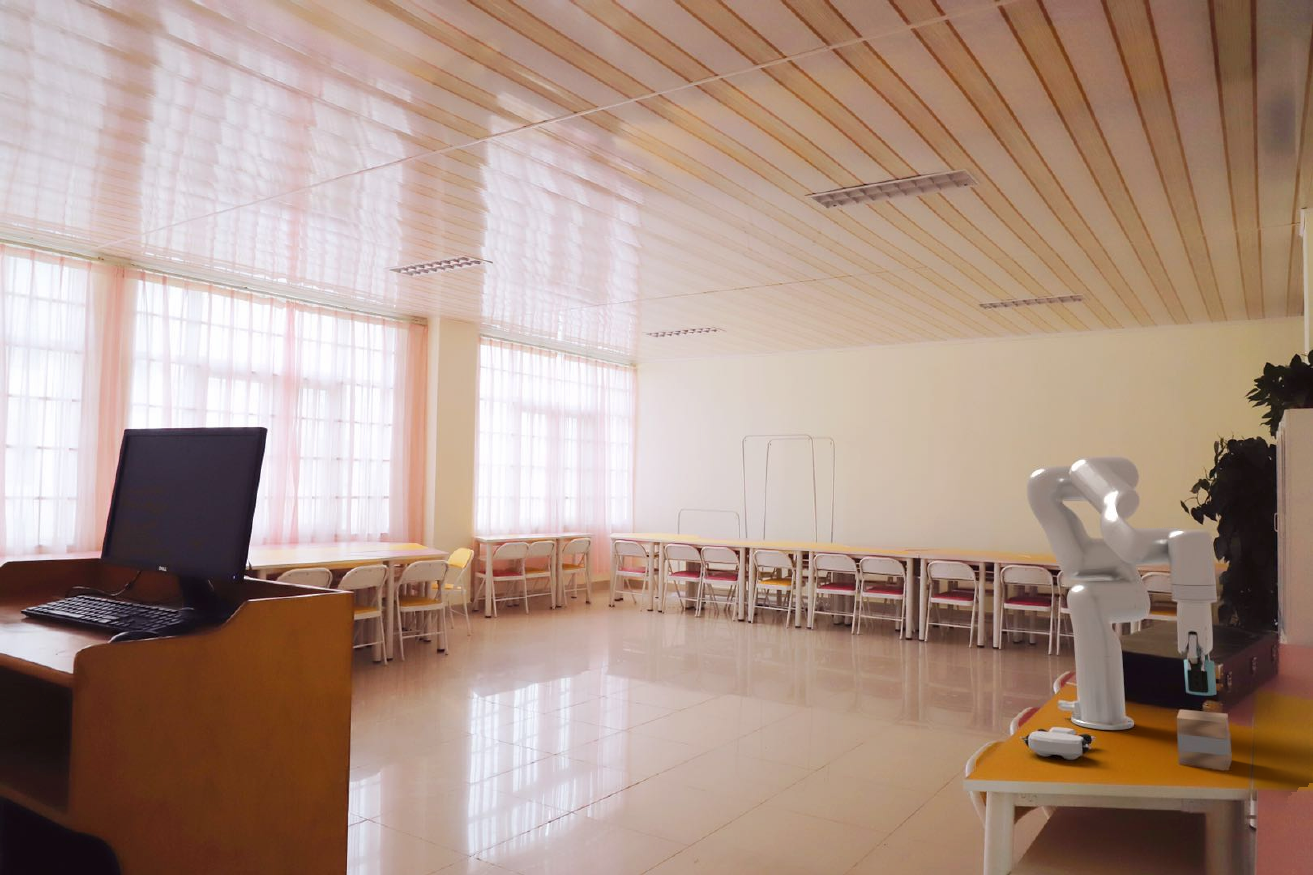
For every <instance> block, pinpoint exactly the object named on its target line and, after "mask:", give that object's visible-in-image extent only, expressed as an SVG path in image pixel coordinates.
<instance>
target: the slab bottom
mask: <svg viewBox="0 0 1313 875" xmlns="http://www.w3.org/2000/svg"><path fill="white" fill-rule="evenodd" d="M1177 755H1178V756H1177V757H1178V758H1177V760H1178V761H1177V762H1178V765H1182V766H1188V767H1195V766H1197V768H1202V767H1203V769H1210V768H1211V770H1217V769H1218V771H1224V770H1230V768H1231V764H1232V761H1233V757H1232V746H1231V747H1230V750H1229V754H1228V756H1223V755H1215V754H1207V753H1199V752H1191V751H1183V750H1178V749H1177ZM1229 767H1230V768H1229Z"/></svg>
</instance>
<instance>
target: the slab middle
mask: <svg viewBox="0 0 1313 875" xmlns="http://www.w3.org/2000/svg"><path fill="white" fill-rule="evenodd" d="M1176 734H1177V735H1176V736H1177V738H1176V739H1177V751H1178V750H1183V751H1191V752H1199V753H1207V754H1215V755H1223V756H1228V754H1229V750H1230V747H1231V748H1232V745H1231V730H1230V729H1229V731H1228V739H1221V738H1211V737H1202V736H1192V735H1183V734H1178V732H1177V733H1176Z"/></svg>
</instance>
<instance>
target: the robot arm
mask: <svg viewBox="0 0 1313 875" xmlns="http://www.w3.org/2000/svg"><path fill="white" fill-rule="evenodd" d="M1139 478H1140V476H1139V471H1138V469H1137V467H1136V465H1135V464H1134V463H1133V462H1132V461H1131V460H1129V459H1127V458H1126V457H1122V456H1089V457H1084V458H1080V459H1079V460H1077V461H1075V462H1074V463H1073V464H1071V465H1056V466H1055V465H1052V466H1046V467H1045V466H1044V467H1041V468H1039V469H1036V470H1035V471H1033V472H1032V473H1031V475H1030V476H1029V477H1028V479H1027V483H1026V496H1027V501H1028V504H1029V507H1030V509H1031V511H1032V513H1033V515H1034V517H1035V518H1036V520H1037V521H1038V522H1039V524H1040V525H1041V528H1042V529H1043V531H1044V533H1045V535H1046V538H1047V540H1048V543H1049V545H1050V548H1051V551H1052V553H1053V555H1054V557H1055V561H1056V562H1057V565H1058V567H1059V569H1060V571H1061V572H1062V574H1063V576H1064V577H1066V578H1068V579H1069V580H1072V581H1073V580H1074V581H1075V580H1077V581H1081V582H1079V583H1076V584H1075V585H1073V586H1072V587H1071V588H1069V590H1068V593H1067V596H1066V604H1067V609H1068V613H1069V617H1070V620H1071V626H1072V632H1073V641H1074V642H1073V643H1074V645H1073V646H1074V662H1075V678H1076V695H1077V699H1076V700H1073V701H1068V700H1061V699H1058V702H1057V707H1058V709H1059V710H1061V711H1064V712H1065V711H1067V712H1068V711H1069V712H1072V714H1071V716H1070V720H1071V722H1072V723H1073V724H1075V725H1078V726H1080V727H1083V728H1089V729H1094V730H1102V731H1103V730H1104V731H1121V730H1128V729H1131V728H1133V727H1134V725H1135V722H1134V720H1133V718H1131V717H1129V716H1127V715H1126V702H1125V701H1126V700H1125V698H1126V697H1125V685H1124V681H1125V680H1124V668H1123V652H1122V644H1121V641H1120V639H1119V637H1118V635H1117V633H1116V632H1115V631H1114V629H1113V627H1112V626H1111V624H1119V623H1120V624H1121V623H1135V622H1140V621H1142V620H1143V621H1144V619H1146V618H1147V617H1148V616H1149V613H1150V611H1151V600H1150V599H1151V598H1150V595H1149V592H1148V589H1147V587H1146V586H1145V583H1144V580H1143V578H1142V577H1141V575H1140V571H1139V570H1138V567H1142V566H1143V567H1145V566H1169V575H1170V589H1171V601H1173V602H1176V603H1177V606H1176V624H1177V626H1176V627H1177V628H1176V629H1177V630H1176V631H1177V651H1178V653H1179V654H1180V655H1183V654H1184V653H1185V652H1186V651H1187V652H1186V655H1187V656H1186V659H1187V660H1188V670H1187V674H1188V687H1189V691H1191V692H1202V693H1207V692H1208V691H1209V690H1208V676H1207V671H1205V660H1211V659H1210V652H1212V650H1213V645H1214V644H1213V642H1214V640H1213V639H1214V638H1213V634H1214V632H1213V618H1212V608H1211V604H1213V603H1217V602H1218V597H1217V581H1216V571H1215V570H1216V569H1215V556H1214V545H1213V536H1212V534H1211V533H1210V532H1209V531H1208V530H1205V529H1190V528H1189V529H1184V528H1180V527H1179V528H1178V527H1144V528H1143V527H1140V528H1135V527H1133V526H1132V525H1131V524H1129V523H1128V521H1126V520H1128V519H1129V518H1130V517H1132V516H1133V515H1134V514H1135V513H1136V511H1137V510H1138V509H1139V506H1140V501H1141V500H1140V496H1139V493H1138V492H1137V491H1136V490H1135V489H1136V488H1137V486H1138V484H1139V481H1140V479H1139ZM1064 502H1088V503H1090V505H1091V506H1092V507H1093V508H1094V509H1095V510H1096V511H1097V512H1098V513H1099V514H1100V519H1099V527H1100V533H1101V536H1102V537H1101V538H1099V537H1098V538H1094V537H1091V536H1090V535H1089V533H1088V532H1087V531H1086V529H1085V527H1084V523H1083V521H1082V520H1081V519H1080V517H1079V516H1078V515H1077V514H1076V513H1075V512H1074V511H1073V509H1071V508H1069V507H1068V506H1067V505H1066V504H1064ZM1088 580H1089V581H1088ZM1200 659H1201V660H1200Z"/></svg>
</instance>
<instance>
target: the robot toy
mask: <svg viewBox="0 0 1313 875" xmlns="http://www.w3.org/2000/svg"><path fill="white" fill-rule="evenodd" d="M1019 739H1020V740H1021V739H1022V740H1023V742H1024V743H1025V745H1026V746H1027V748H1028V747H1029V750H1031V751H1034V752H1035V753H1036V754H1037V755H1039V756H1040V757H1051V756H1052V755H1057V756H1061V757H1063V758H1064V759H1065V760H1069V761H1073V760H1076V759H1078V758H1079V757H1081V756H1083V754H1086V753H1087V752H1088V751H1089V750H1091V749H1092V746H1091V745H1090V744H1092V742H1094V741H1096V737H1095V736H1092V735H1091V734H1088V733H1083V734H1078V735H1077V731H1075V730H1074V729H1073V728H1068V727H1059V726H1052V727H1051V728H1050V729H1049V731H1048V730H1046V729H1045V728H1038V729H1037V730H1036V731H1032V732H1031V733H1028V734H1027V736H1025V737H1023V736H1020V737H1019Z"/></svg>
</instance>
